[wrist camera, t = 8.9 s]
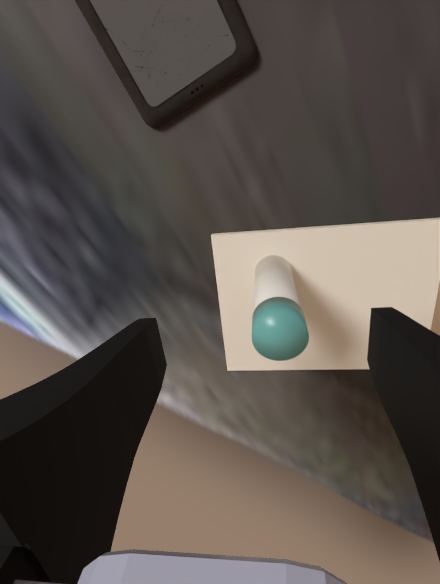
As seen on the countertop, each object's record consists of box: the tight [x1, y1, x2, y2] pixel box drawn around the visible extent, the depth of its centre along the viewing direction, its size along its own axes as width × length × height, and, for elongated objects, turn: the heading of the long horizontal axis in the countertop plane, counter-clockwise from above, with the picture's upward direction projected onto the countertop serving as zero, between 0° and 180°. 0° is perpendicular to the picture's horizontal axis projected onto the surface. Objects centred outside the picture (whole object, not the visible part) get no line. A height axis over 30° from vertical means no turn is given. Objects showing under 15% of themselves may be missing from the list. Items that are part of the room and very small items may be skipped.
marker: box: [252, 255, 309, 361], centre depth 18 cm, size 2×2×7 cm
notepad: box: [211, 218, 440, 371], centre depth 22 cm, size 14×10×1 cm
